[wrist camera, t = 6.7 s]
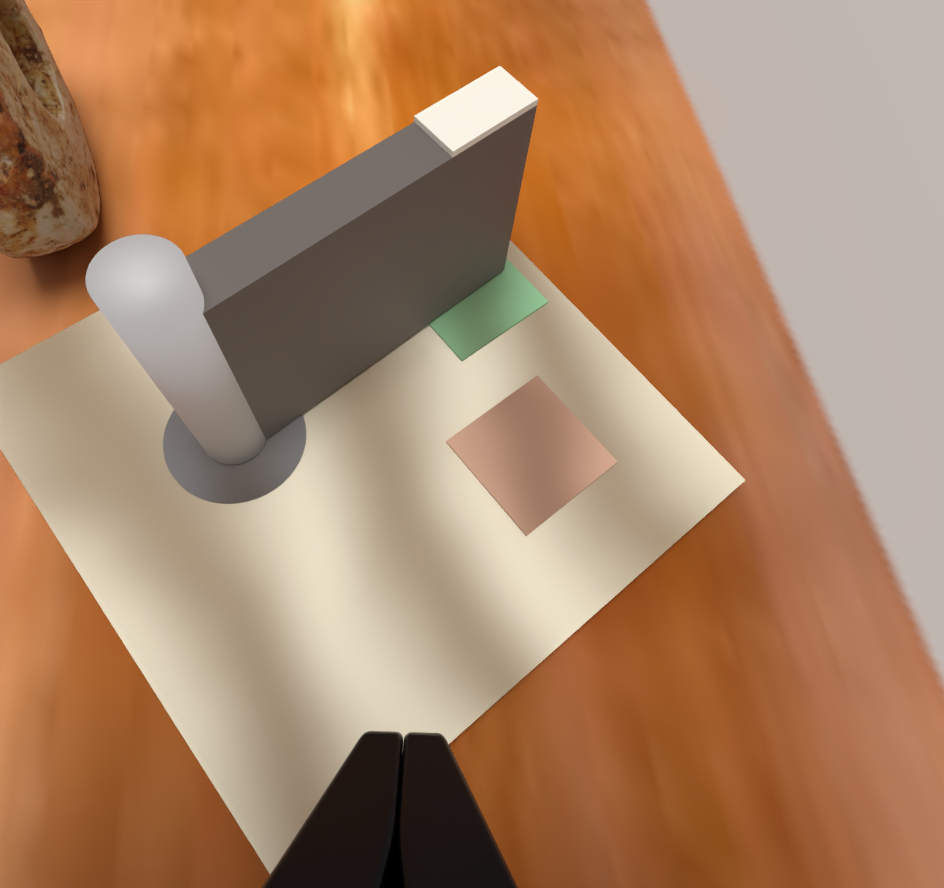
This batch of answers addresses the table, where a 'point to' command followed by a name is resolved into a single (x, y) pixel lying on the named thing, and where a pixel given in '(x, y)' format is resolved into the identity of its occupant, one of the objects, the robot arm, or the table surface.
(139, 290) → the grey upright slab
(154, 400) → the cream square board
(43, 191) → the stone disc
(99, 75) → the table surface
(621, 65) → the table surface
